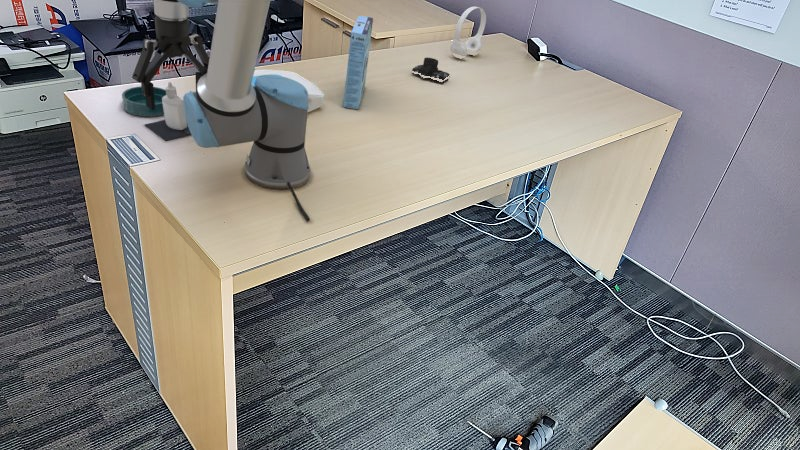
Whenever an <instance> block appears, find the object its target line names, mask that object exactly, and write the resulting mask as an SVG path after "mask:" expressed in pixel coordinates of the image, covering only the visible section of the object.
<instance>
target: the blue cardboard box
mask: <svg viewBox="0 0 800 450" xmlns="http://www.w3.org/2000/svg"><path fill="white" fill-rule="evenodd" d="M373 23H374V18H373V17H369V16H365V15H358V16H357V19H356V20H355V22H354V25H353V27H352V29H351V31H350V40H349V41H350V42H349V50H348V59H347V68H346V77H345V78H346V79H345V86H344V94H343V102H342V108H348V109H353V110H358V109H359V107H360V105H361V100H362V97H363V94H364V92H365V91H364V90H365V88H366V82H367V81H366V80H367V72H368V64H369V57H370V56H369V55H370V48H371V39H372V31H373Z"/></svg>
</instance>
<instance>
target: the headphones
mask: <svg viewBox="0 0 800 450" xmlns="http://www.w3.org/2000/svg"><path fill="white" fill-rule="evenodd" d="M476 9H479V11H480V22H479V27H478V31H477V32H476V34H475V35H474V36H470V37H469V38H468V39H466V41H465V42H463V41H461V33H462V28H463V25H464V22H465V20H466V19H467V17H468V15H469V14H470V13H471V12H472V11H473V10H476ZM486 24H487V14H486V11H485V10H484V9H483V8H482V7H479V6H470V7H468V8H466V9H465V10H464V11H463V13H462V14H461V15H460V17H459V18H458V21H457V24H456V26H455V31H454V39H453V41H452V44H451V45H450V47H449V50H450V53H451V52H453V53H455V54H458V55H461V56H466V55H467V56H468V49H470V50H472V51H475V52H478V51H480V52H481V51H482V48H483V34H484V31H485V28H486ZM471 48H473V49H471ZM467 56H466V57H467Z"/></svg>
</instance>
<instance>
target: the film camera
mask: <svg viewBox="0 0 800 450" xmlns="http://www.w3.org/2000/svg"><path fill="white" fill-rule="evenodd" d="M438 65H439V60H438V59H436V58H433V57H424V58H423V62H422V64H418V65H415V66H414V67H412V69H411V72H412V71H414V72H418V73H421V75H424V76H430V77H434V78H439V79H442V80H444V79H445V78H446V77H448V76H449V75H450V76H451V74H450V73H449V72H446V71H443V70H441V69H439V68H438ZM412 75H414V76H417V77H420V79H422V80H424V81H427V80H429V81H430V82H432V83H433V84H434V83H435V84H442V83H441V82H439V81H437V80H433V79H431V78H423V77H421V76H420V75H419V74H414V73H412ZM450 76H449V77H450Z"/></svg>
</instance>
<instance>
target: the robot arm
mask: <svg viewBox="0 0 800 450" xmlns="http://www.w3.org/2000/svg"><path fill="white" fill-rule="evenodd" d="M215 3H216V4H217V8H216V13H215V19H214V20H215V21H214V25H213V26H214V27H213V33H212V38H211V39H212V40H211V47H210V53H209V55H208V53H207V52H206V49H205V47H204V45H203V40H202V36H201V35H199V34H197V33H195V32H193V33H192V34H191V35H190V32H191V31H190V19H189V17H190V8H191V9H199V8H202V7H205V6H206V5H208V4H215ZM270 4H271V0H153V12H154V15H155V16H154V30H155V35H156V38H155V39H154V40H153V39H148V38H144V39H143V40H142V49H141V52H140V55H139V58H138V59H137V63H136V66H135V68H134V71H133V73H132V76H131V77H132V79H133V80H134V81H136V82H137V83H139V84H140V86H141V87H142V94H143V95H144V96H146V106H147V107H148V108H150V109H151V110H155V101H154V87H155V86H154V83H152V80H153V79H154V77H155V76H156V74H157V73H158V71H159V69H160V68H161V67H162V65H163V64H164V62H166V61H167V60H168V59H173V58H176V57H177V58H182V57H183V56H184V57H185V58H186V59H187V60H188V61H189V62H190V63H191V64H192V65H193V67H195V69H196V70H197V71H195V72H194V73H195V74H194V77H195V91H192V90H191V91H189V92H186V93H184V95H183V98H182V100H183V107H184V113H185V117H186V121H187V124H188V127H189V130H190V132H191V135H190V136H191V137H192V139H193V141H194V142H195V143H196V144H197V145H198V146H199V147H201V148H204V149H208V148H221V147H227V146H234V145H239V144H246V143H252V142H253V143H252V145H251V148H250V152H249V154H247V155H246V158H245V162H244V176H245V177H246V179H247V180H248V181H249V182H250V183H251V184H254V185H255V186H257V187H260V188H264V189H266V190H267V189H268V190H273V191H288V190H289V191H290V193H291V195H292V196H293V198H294V201H295V203H296V205H297V207H298V209H299V211H300V213H301V214H302V215H303V217H304V218H305V219H306V221H307V222H310V221H311V218H310V216H309V215H308V214H307V212H306V211H305V210H304V207H303V206H302V204H301V202H300V200H299V198H298V196H297V194H296V192H295V190H294V189H298V188H300V187H303V186H305V185H306V184H307V183H308V182H309V180H310V179H311V178H310V177H311V166H310V163H309V159H308V155H307V151H306V145H305V144H306V135H307V121H308V113H309V112H308V109H309V106H308V91H307V89H306V88H305V87H304V86H303V85H302V84H300V83H299V82H297V81H295V80H292V79H289V78H286V77H282V76H277V75H261V76H259V77H257V78H256V80H255V82H254V84H255V86H252V85H251V83H252V79H253V75H254V70H256V65H257V61H258V57H259V52H260V47H261V43H262V39H263V35H264V31H265V26H266V21H267V17H268V13H269V8H270ZM191 44H192V45H193V47H194V49H195V51H196V53H197V55H198V58H199V60H201V62H200V61H199V60H198V59H197V57H196V56H195V55H194V54H193V52H192V51H191V50H190V49H189V46H190V45H191ZM156 47H157V49H156ZM154 51H155V52H154ZM153 54H154V55H153ZM152 56H153V57H152ZM307 112H308V113H307Z"/></svg>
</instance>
